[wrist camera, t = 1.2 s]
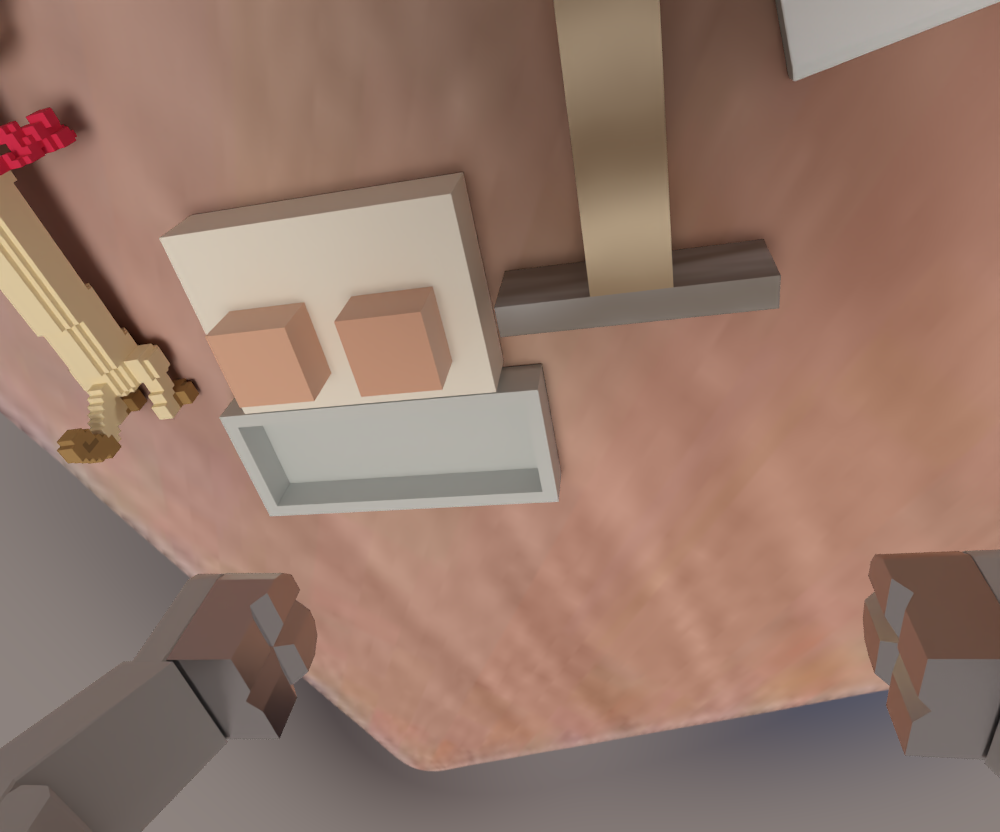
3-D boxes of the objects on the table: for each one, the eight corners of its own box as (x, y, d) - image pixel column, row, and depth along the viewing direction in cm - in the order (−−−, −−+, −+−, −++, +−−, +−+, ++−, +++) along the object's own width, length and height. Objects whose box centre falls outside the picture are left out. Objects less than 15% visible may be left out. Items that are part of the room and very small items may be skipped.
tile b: (351, 296, 32) (334, 321, 30) (432, 286, 31) (420, 311, 29) (375, 368, 34) (361, 396, 32) (452, 361, 33) (442, 389, 31)
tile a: (229, 311, 33) (204, 336, 31) (304, 302, 33) (284, 327, 31) (260, 380, 36) (239, 407, 34) (331, 373, 35) (314, 400, 33)
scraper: (449, -13, 27) (428, -3, 24) (773, -83, 24) (797, -83, 21) (510, 298, 34) (500, 337, 31) (762, 268, 32) (779, 308, 29)
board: (191, 215, 34) (158, 238, 32) (463, 172, 31) (450, 193, 29) (266, 383, 40) (244, 413, 37) (503, 360, 37) (496, 392, 34)
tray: (238, 392, 40) (219, 417, 38) (541, 363, 36) (537, 389, 34) (285, 489, 44) (270, 516, 42) (561, 472, 41) (558, 501, 39)
